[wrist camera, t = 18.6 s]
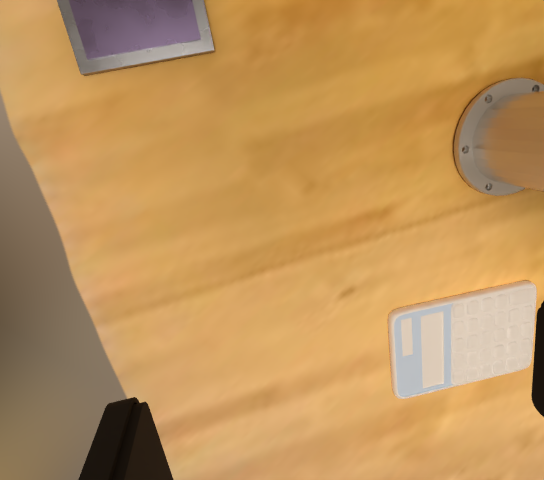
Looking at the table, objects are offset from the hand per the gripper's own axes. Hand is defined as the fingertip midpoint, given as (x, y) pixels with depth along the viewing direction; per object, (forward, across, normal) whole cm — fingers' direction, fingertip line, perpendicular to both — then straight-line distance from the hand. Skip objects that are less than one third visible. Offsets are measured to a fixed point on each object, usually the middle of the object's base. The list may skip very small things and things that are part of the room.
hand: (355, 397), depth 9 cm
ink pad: (+33, +7, -19) cm, 38 cm away
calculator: (+34, -24, +26) cm, 49 cm away
